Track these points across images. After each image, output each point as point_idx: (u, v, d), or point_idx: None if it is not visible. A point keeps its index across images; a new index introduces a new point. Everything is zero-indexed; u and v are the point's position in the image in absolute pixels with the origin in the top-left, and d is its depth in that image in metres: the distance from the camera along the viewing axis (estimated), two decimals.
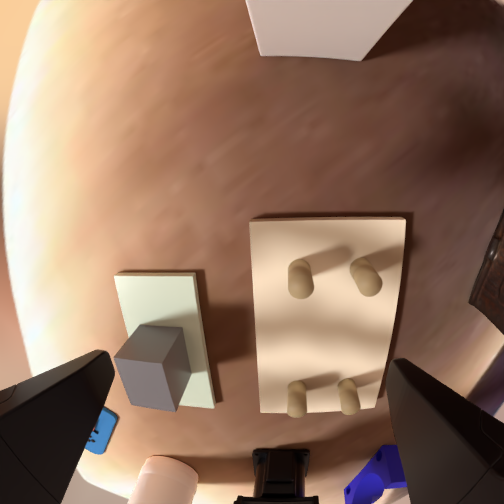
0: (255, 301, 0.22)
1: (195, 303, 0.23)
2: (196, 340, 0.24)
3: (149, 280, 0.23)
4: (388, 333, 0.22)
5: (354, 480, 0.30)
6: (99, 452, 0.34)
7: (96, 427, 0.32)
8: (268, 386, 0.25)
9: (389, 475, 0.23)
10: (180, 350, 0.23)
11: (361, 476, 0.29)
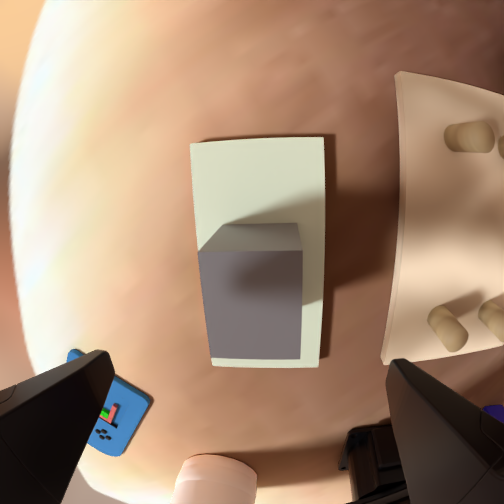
0: (408, 176, 0.14)
1: (323, 180, 0.15)
2: (316, 245, 0.16)
3: (252, 145, 0.15)
4: None
5: None
6: (115, 453, 0.26)
7: (115, 418, 0.24)
8: (405, 318, 0.17)
9: None
10: None
11: None
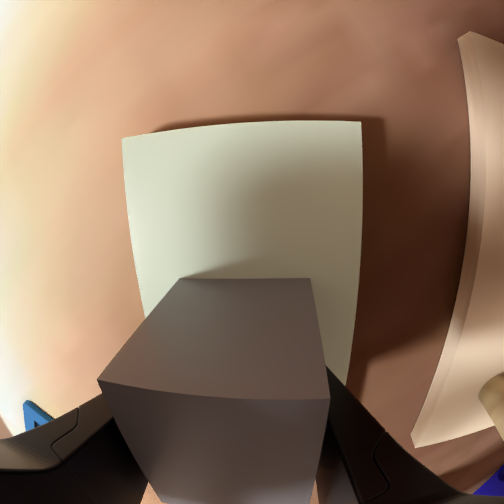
0: (487, 197, 0.08)
1: (360, 202, 0.08)
2: (341, 314, 0.09)
3: (228, 136, 0.08)
4: None
5: None
6: None
7: None
8: (453, 396, 0.10)
9: None
10: None
11: None
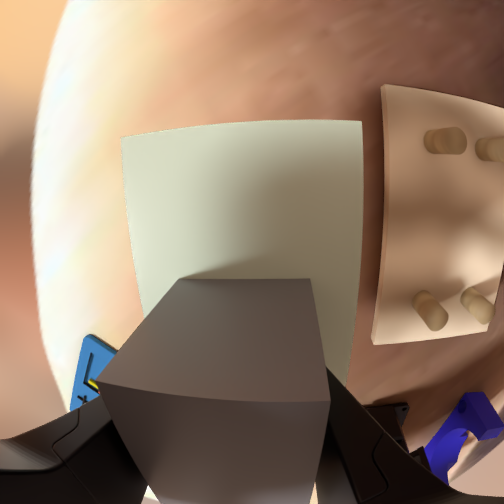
0: (391, 176, 0.17)
1: (360, 202, 0.08)
2: (341, 314, 0.09)
3: (228, 135, 0.08)
4: None
5: (428, 445, 0.25)
6: None
7: None
8: (391, 301, 0.19)
9: (482, 422, 0.18)
10: None
11: (439, 438, 0.24)
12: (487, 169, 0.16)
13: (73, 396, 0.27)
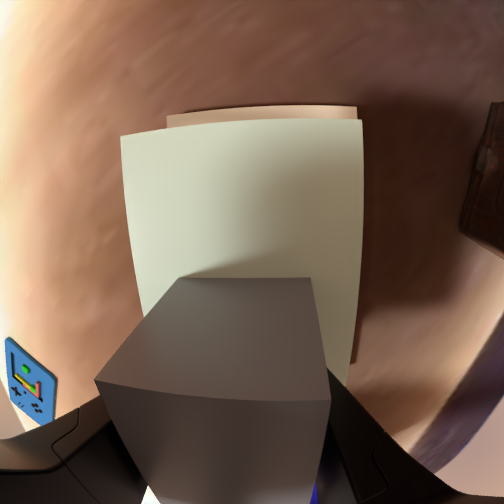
0: None
1: (361, 200, 0.08)
2: (341, 313, 0.09)
3: (228, 134, 0.08)
4: None
5: None
6: None
7: (41, 394, 0.28)
8: None
9: None
10: None
11: None
12: None
13: (9, 387, 0.28)
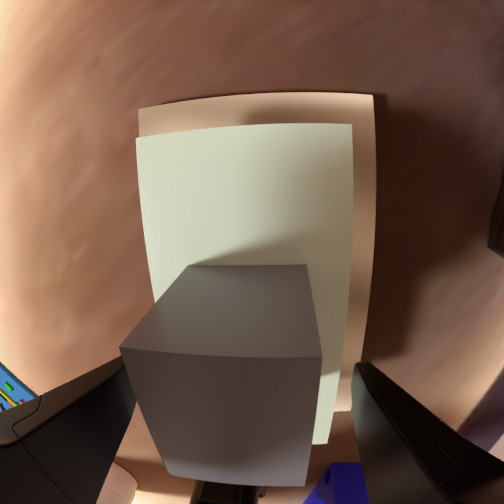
0: None
1: (351, 195, 0.09)
2: (335, 298, 0.10)
3: (233, 137, 0.09)
4: (364, 287, 0.14)
5: (305, 502, 0.23)
6: None
7: None
8: None
9: None
10: None
11: (311, 499, 0.21)
12: None
13: None
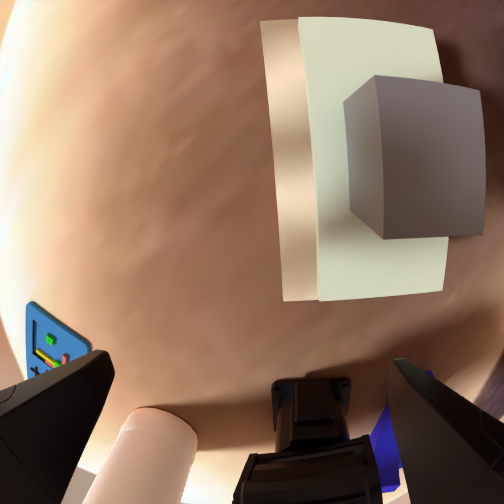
0: (271, 107, 0.16)
1: (439, 67, 0.11)
2: None
3: (368, 25, 0.10)
4: None
5: (372, 434, 0.24)
6: None
7: None
8: (293, 247, 0.19)
9: None
10: None
11: (380, 426, 0.23)
12: None
13: (28, 369, 0.27)
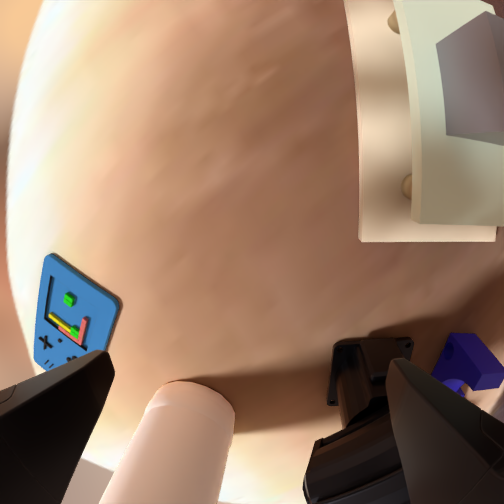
0: (357, 50, 0.14)
1: None
2: None
3: None
4: None
5: None
6: None
7: (85, 339, 0.24)
8: (376, 183, 0.17)
9: (475, 366, 0.16)
10: None
11: None
12: None
13: (35, 339, 0.25)
